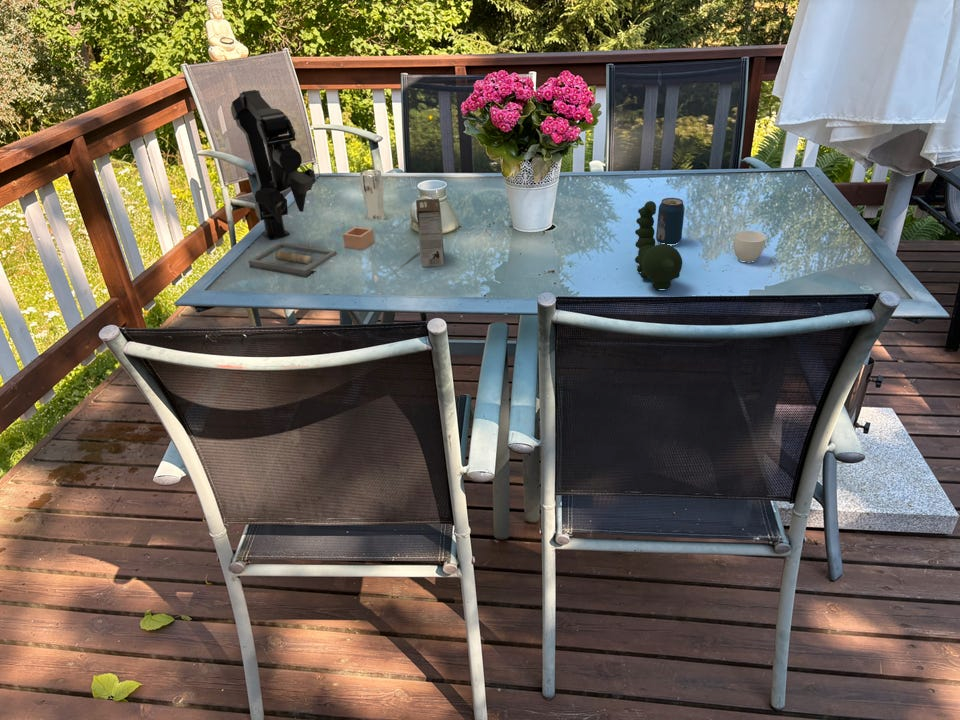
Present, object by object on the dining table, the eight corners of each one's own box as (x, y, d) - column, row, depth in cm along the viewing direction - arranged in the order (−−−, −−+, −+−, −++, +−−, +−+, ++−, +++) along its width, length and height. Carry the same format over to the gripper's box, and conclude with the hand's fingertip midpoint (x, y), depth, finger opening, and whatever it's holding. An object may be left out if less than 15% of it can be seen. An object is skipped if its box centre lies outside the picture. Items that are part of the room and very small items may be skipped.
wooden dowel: (272, 256, 198) (293, 253, 190) (276, 249, 199) (297, 246, 191) (290, 268, 202) (311, 265, 194) (293, 261, 203) (315, 258, 195)
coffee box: (421, 254, 199) (415, 199, 191) (443, 252, 200) (439, 197, 191) (421, 267, 191) (416, 210, 183) (445, 265, 192) (440, 208, 183)
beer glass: (383, 223, 222) (377, 176, 214) (362, 222, 223) (355, 175, 216) (390, 215, 228) (384, 169, 220) (369, 214, 229) (363, 169, 221)
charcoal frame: (249, 267, 197) (248, 260, 196) (282, 248, 208) (280, 242, 207) (306, 277, 189) (305, 270, 188) (337, 257, 200) (336, 251, 199)
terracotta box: (345, 250, 204) (342, 234, 202) (357, 242, 209) (355, 226, 206) (363, 253, 202) (360, 236, 199) (374, 245, 207) (372, 229, 204)
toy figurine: (624, 267, 189) (650, 301, 167) (627, 197, 181) (654, 223, 158) (658, 265, 190) (689, 298, 167) (663, 195, 181) (696, 220, 159)
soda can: (683, 239, 200) (687, 198, 193) (678, 248, 194) (682, 206, 188) (658, 236, 202) (662, 195, 196) (653, 245, 197) (656, 204, 191)
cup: (734, 266, 183) (738, 241, 179) (726, 251, 191) (729, 227, 188) (765, 265, 182) (769, 241, 179) (755, 250, 191) (759, 227, 187)
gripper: (281, 175, 177) (292, 233, 186) (326, 154, 191) (334, 209, 199) (247, 170, 181) (259, 227, 190) (293, 150, 195) (303, 204, 204)
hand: (291, 217), depth 196 cm, fingers open, 9 cm apart
